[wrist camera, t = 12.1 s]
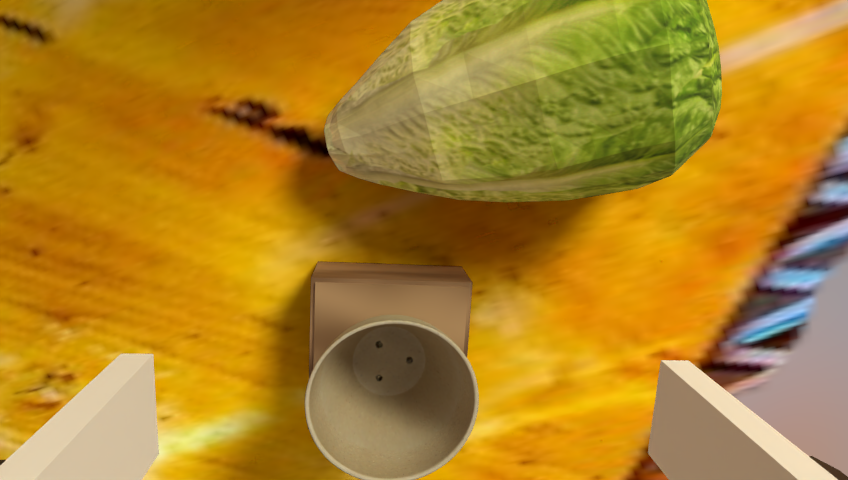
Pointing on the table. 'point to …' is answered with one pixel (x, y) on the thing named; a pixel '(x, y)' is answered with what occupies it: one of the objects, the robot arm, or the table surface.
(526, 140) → the lettuce
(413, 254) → the table surface
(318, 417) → the flower pot
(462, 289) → the walnut block
